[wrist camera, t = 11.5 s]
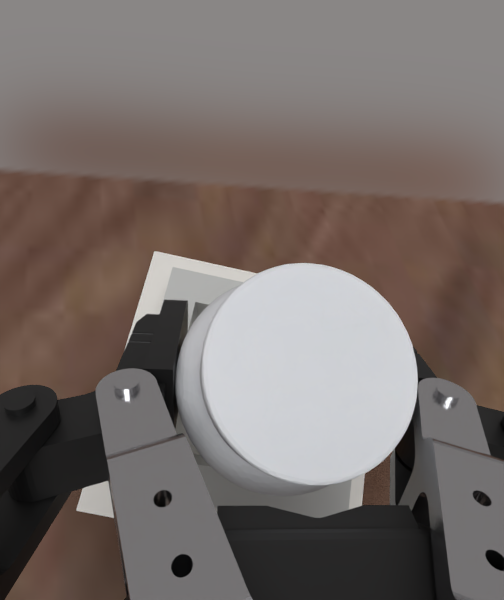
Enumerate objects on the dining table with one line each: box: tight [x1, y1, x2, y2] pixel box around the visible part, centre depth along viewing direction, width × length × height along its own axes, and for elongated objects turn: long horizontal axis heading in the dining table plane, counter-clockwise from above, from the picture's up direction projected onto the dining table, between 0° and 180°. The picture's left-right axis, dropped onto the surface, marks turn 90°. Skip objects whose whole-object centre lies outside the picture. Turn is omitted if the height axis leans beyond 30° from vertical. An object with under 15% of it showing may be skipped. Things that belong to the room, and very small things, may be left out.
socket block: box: [76, 251, 365, 518], centre depth 19 cm, size 14×14×4 cm
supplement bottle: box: [175, 263, 418, 496], centre depth 11 cm, size 5×5×10 cm
